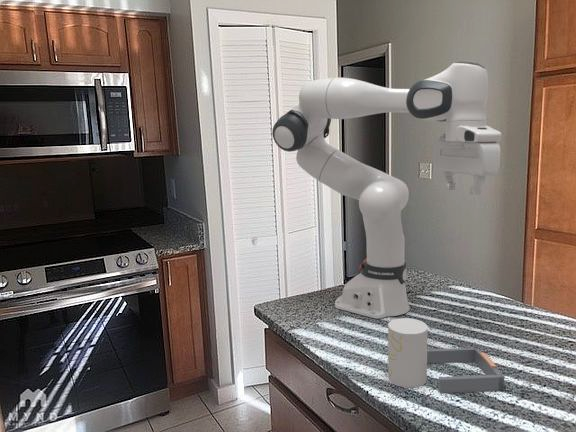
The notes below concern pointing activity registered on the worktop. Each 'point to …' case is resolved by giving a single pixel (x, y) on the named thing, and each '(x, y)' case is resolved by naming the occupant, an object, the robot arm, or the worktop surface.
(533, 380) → the worktop surface
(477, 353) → the bracket
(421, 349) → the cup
